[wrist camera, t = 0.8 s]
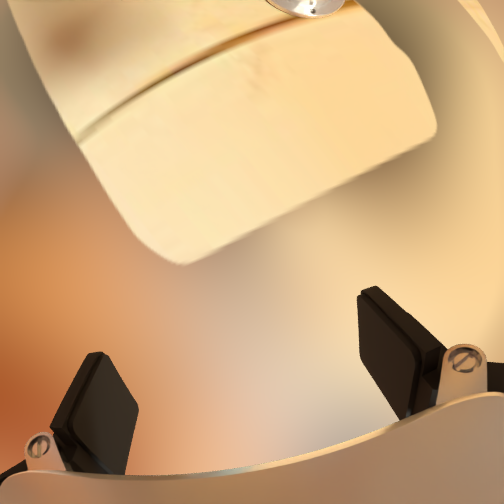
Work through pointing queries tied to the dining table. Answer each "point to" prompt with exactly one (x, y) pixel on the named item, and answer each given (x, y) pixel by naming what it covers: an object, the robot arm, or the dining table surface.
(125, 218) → the dining table surface
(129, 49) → the dining table surface
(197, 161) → the dining table surface
